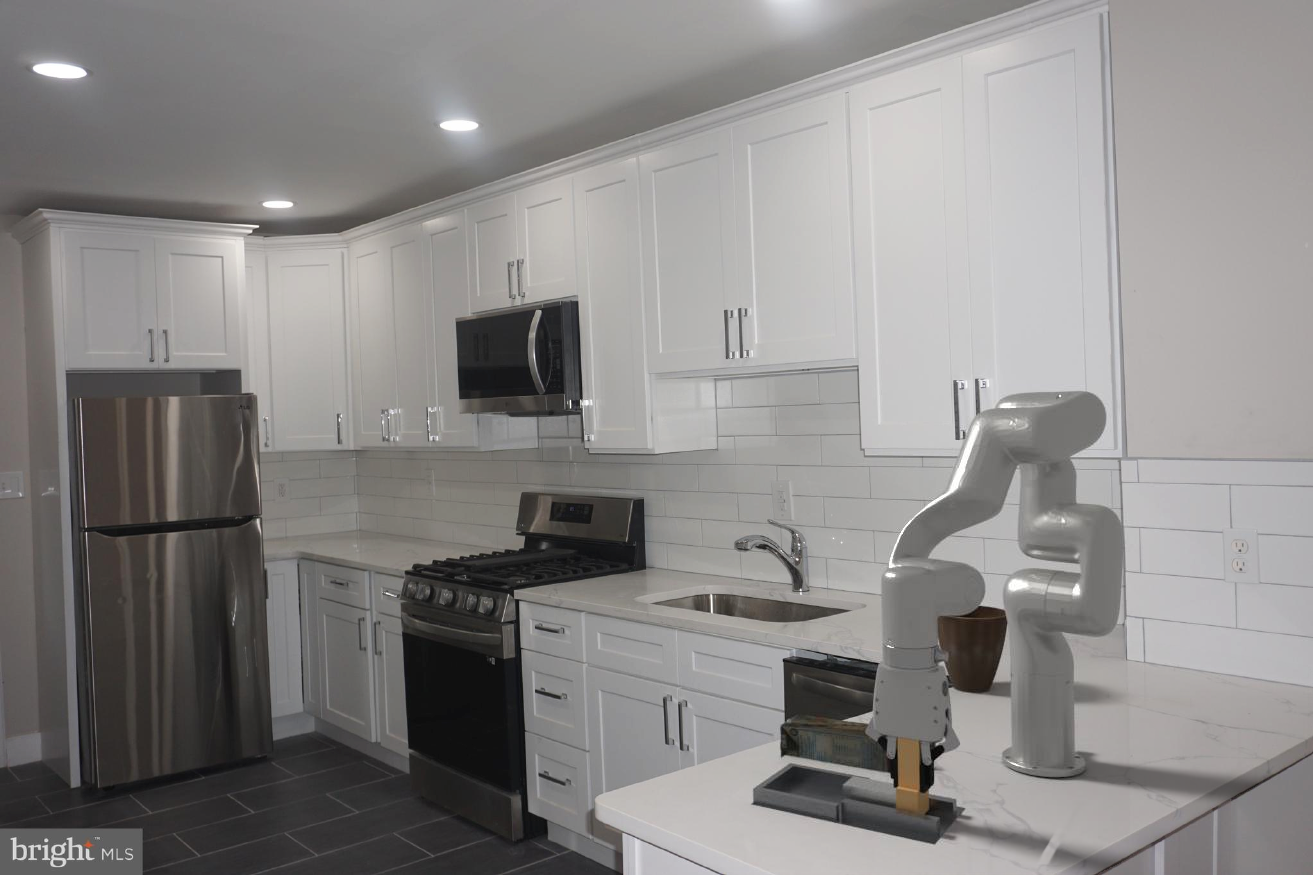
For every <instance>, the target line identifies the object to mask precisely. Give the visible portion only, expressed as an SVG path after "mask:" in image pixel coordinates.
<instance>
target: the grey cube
mask: <svg viewBox="0 0 1313 875" xmlns="http://www.w3.org/2000/svg"><path fill="white" fill-rule="evenodd" d="M878 781H879V782H878V783H877V784H876V785H875V786H874V787H872V788H871V789H870V804H875V805H880V806H885V807H890V808H895V809H896V788H894V786H893V783H891V782H885V781H882V780H878Z"/></svg>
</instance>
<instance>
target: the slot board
mask: <svg viewBox="0 0 1313 875" xmlns="http://www.w3.org/2000/svg"><path fill="white" fill-rule="evenodd" d="M853 776H855V777H860V778H866V779H870V777H865V776H862V775H856V774H850V773H846V772H839V771H834V770H828V769H824V768H818V767H813V766H808V765H802V764H797V763H792V762H789V763H788V764H786V765H785V766H784V767H782V768H781V769H779V770H778V771H777V772H775V773H774V774H772V775H771V776H769V777H768V778H767V779H765V780H763V781H762V782H760V783H759V784H758V785H756V786H754V788H752V796H753V797H752V798H753V799H752V800H753V801H752V803H751V805H754V806H756V807H762V808H766V809H770V810H774V811H780V812H784V813H788V814H795V815H798V816H802V817H803V816H804V817H807V818H812V819H816V820H819V821H820V820H821V821H824V822H830V823H835V824H839V825H844V826H848V827H852V828H857V829H862V830H867V831H871V832H876V833H880V834H884V835H890V836H895V837H898V838H904V839H908V840H912V841H916V842H922V843H926V844H931V845H935V844H936V843H937V842H938V841H939V840H940V839H941V837H942V836H943V835H944V834H945V833H946V831H948V830H949V828H950V827H951V826H952V825H953V824H954V822H955V821H956V820H957V819H958V818H959V817H960V815H961V814H962V813H963V812H964V811H965V809H966V807H962V806H957V799H956V798H952V797H947V796H942V795H936V794H932V793H929V810H928V811H927V812H926V813H925V814H920V813H915V812H910V811H905V810H900V809H895V808H890V807H885V806H880V805H875V804H870V803H866V802H861V801H856V800H851V799H846V798H845V799H844V800H843V784H845V783H846V782H847V781H848V780H849V779H851V778H852V777H853Z"/></svg>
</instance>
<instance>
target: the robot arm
mask: <svg viewBox="0 0 1313 875" xmlns="http://www.w3.org/2000/svg"><path fill="white" fill-rule="evenodd" d="M1106 426H1107V410H1106V407H1105V404H1104V403H1103V401H1102V400H1101V399H1100V398H1099V396H1097V395H1096V394H1095V393H1093V392H1090V391H1086V390H1085V391H1084V390H1077V391H1076V390H1071V391H1069V390H1068V391H1067V390H1066V391H1038V392H1037V391H1031V392H1020V393H1014V394H1009V395H1006V396H1004V397H1002V398H1001V399H999V400H998V402H997V403H996V405H995V407H994V408H989V409H985V410H983V411H980V412H979V413H977V414H976V415H975V416H974V417H973V419H972V420H971V422H970V423H969V426H968V428H967V432H966V435H965V437H964V440H963V442H962V444H961V447H960V450H959V452H958V455H957V459H956V461H955V464H954V467H953V469H952V472H951V474H950V477H949V480H948V481H947V482H948V483H947V485H946V487H945V489H944V491H943V492H942V493H940V494H939V495H937V496H936V497H935V498H934V499H932V500H931V501H930V502H928V503H927V504H926V505H925V506H924V507H923V508H921V510H919V512H917V513H916V514H915V515H914V516H913V517H912V518H911V519H910V520H909V521H908V522H907V523H906V524H905V526H904V527H903V528H902V530H901V531H900V533H899V535H898V537H897V539H896V542H895V544H894V546H893V550H892V552H891V554H890V557H889V561H888V562H887V567H886V569H885V570H884V571H883V573H882V574H881V580H880V582H881V583H880V586H881V587H880V589H881V590H880V591H881V594H880V596H881V635H882V636H881V637H882V640H881V641H882V646H881V647H882V661H880V662H879V663H878V665H877V670H876V674H875V681H874V682H875V683H874V689H873V690H874V691H873V704H872V717H871V719H870V721H869V722H868V723H867V724H868V726H867V728H866V730H865V733H866V734H867V735H868V736H870V737H871V738H872V739H874V740H875V741H877V742H878V743H879V744H880V746H881V747H882V748H883V749H884V750H885V752H886V753H887V757H888V758H890V772H889V773H890V779H891V780H893V781H892V782H893V783H892V784H893V786H894V788H897V787H898V739H897V738H902V739H908V740H915V741H920V742H921V750H922V763H921V764H920V766H919V773H920V792H921V793H926V792H927V791H928V790H929V791H930V789H931V787H933V786H934V784H935V761H936V760H937V759H938V758H940V757H941V756H942V755H943V754H946V753H949V752H951V751H954V750H956V749H958V748H959V746H960V745H961V742H960V740H959V738H958V736H957V734H956V732H955V730H954V728H953V715H952V704H951V696H950V687H949V681H948V677H947V673H946V667H944V666H943V665H939V664H940V663H942V662H944V661H945V662H947V661H948V658H949V655H948V652H943V651H942V650H941V649H940V645H939V640H938V620H937V619H938V617H939V616H958V615H965V614H968V613H970V612H972V611H974V610H975V609H976V608H977V607H978V606H981V604H982V602H983V600H984V599H985V595H986V583H985V579H984V577H983V575H982V574H981V572H980V571H979V570H978V569H977V568H975V567H974V566H972V565H970V564H969V563H968V564H967V563H964V562H961V561H960V562H959V561H955V560H954V561H952V560H943V559H939V558H938V559H937V558H929V557H930V555H931V553H932V552H933V550H934V549H935V548H936V547H937V546H938V545H939V544H940V543H941V542H942V541H944V540H945V539H946V538H948V537H950V536H952V535H953V534H955V533H958V532H960V531H964V530H965V529H968V528H971V527H975V526H977V525H978V524H981V523H984V522H986V521H989V520H991V519H993V518H994V517H997V516H998V515H999V514H1000V513H1001V511H1002V510H1003V508H1004V507H1003V506H1004V504H1005V502H1006V498H1007V496H1008V492H1009V489H1010V487H1011V484H1012V481H1013V478H1014V475H1015V473H1016V470H1017V469H1018V468H1019V474H1020V488H1019V501H1018V502H1019V505H1018V515H1017V517H1018V518H1017V544H1018V547H1019V549H1020V551H1021V553H1023V554H1024V555H1026V557H1029V558H1031V559H1036V560H1041V561H1047V562H1055V563H1056V562H1057V563H1065V564H1066V563H1067V564H1074V565H1076V564H1077V565H1079V566H1080V572H1073V571H1066V570H1065V571H1064V570H1059V569H1058V570H1056V569H1048V568H1036V567H1034V568H1033V567H1029V568H1023V569H1019V570H1016V571H1014V572H1013V573H1011V574H1010V575H1009V576H1008V577H1007V579H1006V580H1005V583H1004V585H1003V590H1002V600H1003V601H1002V602H1003V603H1002V604H1003V607H1004V608H1003V610H1005V613H1006V618H1007V623H1008V624H1007V630H1008V635H1009V646H1010V647H1009V648H1010V709H1011V710H1010V714H1011V716H1010V720H1011V722H1010V723H1011V725H1010V726H1011V746H1010V747H1008V748H1006V749H1004V750H1003V751H1002V753H1001V760H1002V763H1003V764H1004V765H1005V766H1007V767H1008V768H1010V769H1012V770H1014V771H1016V772H1019V773H1022V774H1025V775H1030V776H1036V777H1043V778H1044V777H1045V778H1068V777H1073V776H1077V775H1080V774H1082V773H1084V772H1085V771H1086V760H1085V758H1084V757H1083V756H1081V755H1080V754H1078V753H1077V752H1076V744H1075V742H1076V739H1075V734H1076V732H1075V674H1074V673H1075V672H1074V671H1075V663H1074V662H1075V661H1074V656H1073V652H1072V649H1071V647H1070V644H1069V643H1068V640H1067V639H1066V637H1065V636H1064V634H1063V633H1065V634H1066V633H1067V634H1070V635H1071V634H1072V635H1077V636H1083V637H1091V638H1099V637H1100V638H1101V637H1105V636H1108V635H1109V634H1110V633H1111V632H1113V630H1114V629H1115V627H1116V626H1117V623H1118V620H1119V617H1120V616H1119V615H1120V611H1121V610H1120V609H1121V599H1122V598H1121V597H1122V585H1123V567H1124V566H1123V565H1124V550H1125V547H1124V546H1125V544H1124V543H1125V541H1124V540H1125V539H1124V538H1125V537H1124V530H1123V527H1122V523H1121V520H1120V518H1119V516H1118V514H1116V512H1115V511H1114V510H1113V509H1112V508H1109V507H1108V506H1104V505H1101V504H1093V503H1079V502H1078V503H1077V479H1078V478H1077V471H1076V467H1075V465H1074V462H1073V461H1072V459H1071V457H1073V456H1074V455H1076V454H1078V453H1080V452H1082V451H1084V450H1086V449H1089V447H1092V446H1093V445H1094V444H1095V443H1097V442H1098V440H1100V438H1101V437H1102V435H1103V433H1104V431H1105V428H1106ZM944 739H945V740H944Z"/></svg>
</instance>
